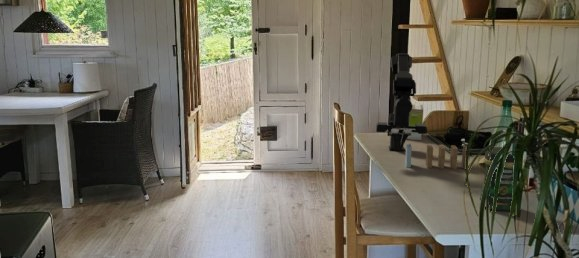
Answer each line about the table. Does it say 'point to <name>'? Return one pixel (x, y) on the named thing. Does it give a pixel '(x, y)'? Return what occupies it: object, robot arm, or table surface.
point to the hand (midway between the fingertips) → (400, 150)
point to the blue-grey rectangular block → (408, 155)
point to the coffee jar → (505, 183)
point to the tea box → (415, 120)
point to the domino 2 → (429, 156)
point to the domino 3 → (441, 156)
